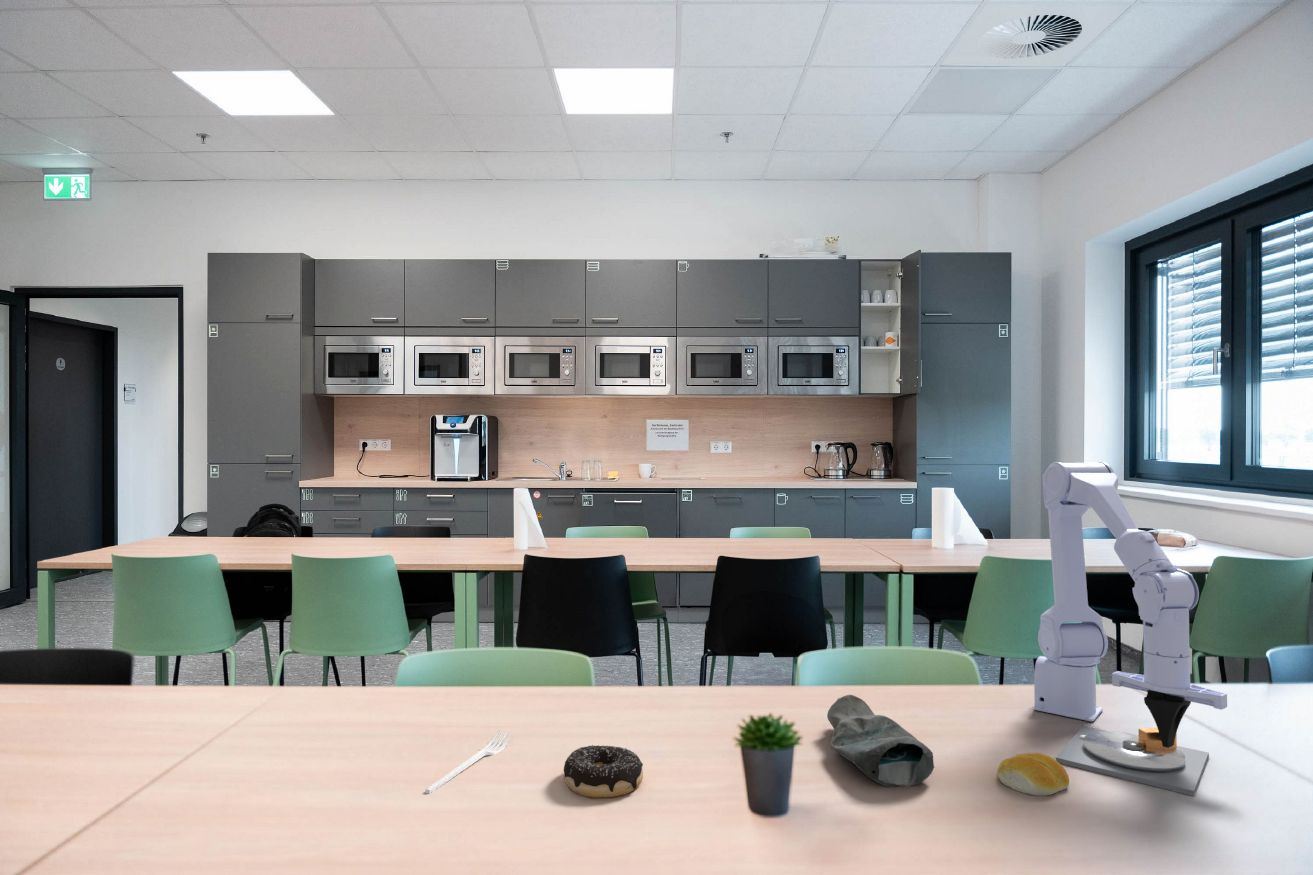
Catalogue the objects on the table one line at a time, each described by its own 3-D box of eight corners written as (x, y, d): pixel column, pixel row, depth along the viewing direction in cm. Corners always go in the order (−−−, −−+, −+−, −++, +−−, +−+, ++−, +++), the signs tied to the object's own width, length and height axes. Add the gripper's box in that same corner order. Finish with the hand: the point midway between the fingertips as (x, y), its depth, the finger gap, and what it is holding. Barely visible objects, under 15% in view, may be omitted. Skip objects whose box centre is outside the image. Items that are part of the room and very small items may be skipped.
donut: (581, 808, 102) (581, 778, 102) (551, 774, 112) (550, 746, 112) (657, 790, 107) (657, 761, 107) (620, 759, 117) (620, 733, 117)
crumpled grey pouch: (949, 790, 107) (884, 720, 132) (945, 738, 106) (880, 679, 131) (855, 801, 106) (807, 729, 131) (851, 749, 106) (804, 687, 131)
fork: (417, 794, 106) (417, 780, 106) (496, 741, 125) (496, 730, 125) (437, 798, 105) (437, 784, 105) (513, 744, 124) (513, 732, 124)
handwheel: (1120, 772, 110) (1120, 749, 110) (1065, 737, 123) (1065, 716, 123) (1207, 769, 111) (1207, 746, 111) (1143, 735, 124) (1143, 714, 124)
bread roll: (1079, 786, 108) (1079, 757, 108) (1042, 803, 103) (1042, 772, 103) (1022, 765, 115) (1022, 738, 115) (986, 780, 110) (986, 751, 110)
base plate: (1055, 761, 116) (1055, 755, 116) (1083, 729, 129) (1083, 723, 129) (1193, 795, 105) (1193, 788, 105) (1208, 757, 117) (1208, 750, 117)
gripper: (1234, 658, 112) (1236, 754, 111) (1126, 639, 124) (1127, 726, 123) (1215, 666, 108) (1217, 765, 107) (1105, 646, 119) (1106, 735, 119)
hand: (1168, 745), depth 115 cm, fingers closed
